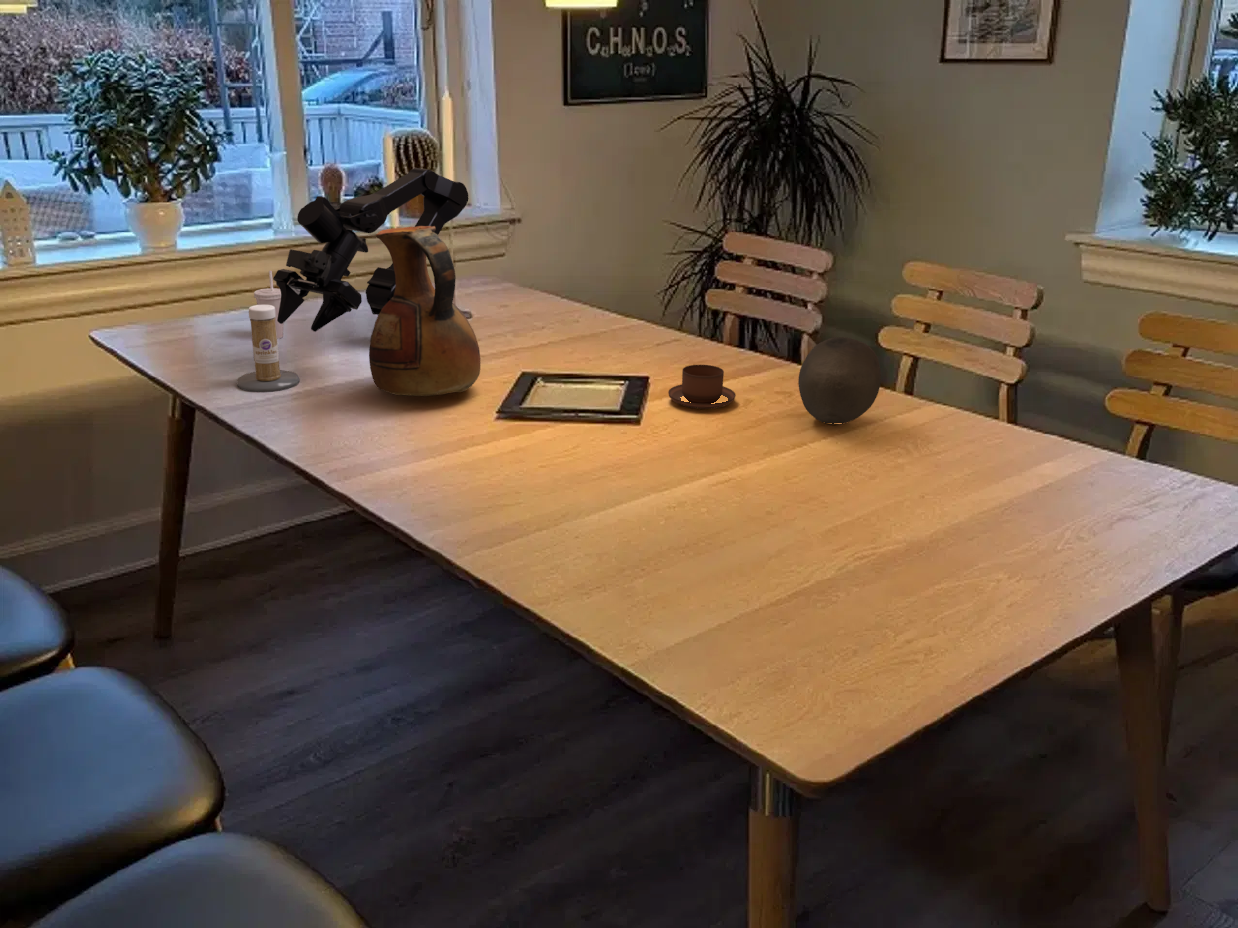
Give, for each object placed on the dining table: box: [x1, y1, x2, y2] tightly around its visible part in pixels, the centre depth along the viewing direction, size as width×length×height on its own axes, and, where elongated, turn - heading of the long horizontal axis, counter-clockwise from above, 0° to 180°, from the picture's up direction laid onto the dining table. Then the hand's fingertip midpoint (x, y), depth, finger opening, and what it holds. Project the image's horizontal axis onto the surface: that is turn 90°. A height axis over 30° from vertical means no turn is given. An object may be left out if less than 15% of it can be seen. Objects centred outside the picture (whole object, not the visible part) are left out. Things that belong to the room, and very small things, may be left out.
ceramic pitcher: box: [368, 226, 481, 397], centre depth 196 cm, size 20×20×30 cm
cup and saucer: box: [668, 364, 736, 410], centre depth 199 cm, size 12×12×6 cm
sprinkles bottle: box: [248, 304, 281, 381], centre depth 203 cm, size 5×5×14 cm
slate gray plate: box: [236, 369, 300, 393], centre depth 205 cm, size 11×11×1 cm
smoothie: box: [253, 270, 284, 340], centre depth 232 cm, size 6×6×14 cm
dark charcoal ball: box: [797, 336, 882, 425], centre depth 187 cm, size 14×14×15 cm
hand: (295, 326), depth 208 cm, fingers open, 9 cm apart
